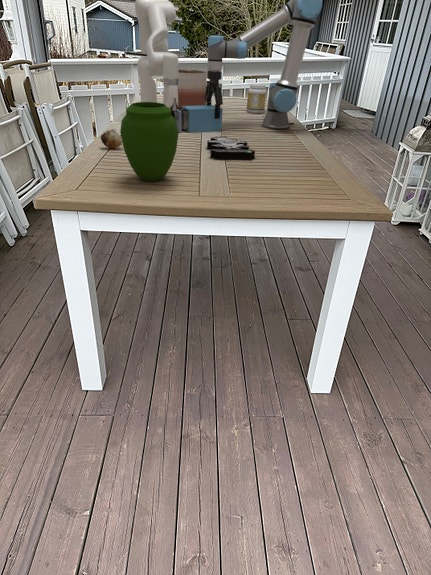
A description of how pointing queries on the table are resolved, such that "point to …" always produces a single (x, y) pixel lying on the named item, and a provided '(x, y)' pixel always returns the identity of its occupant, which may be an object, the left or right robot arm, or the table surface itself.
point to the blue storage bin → (203, 118)
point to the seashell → (111, 139)
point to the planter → (191, 88)
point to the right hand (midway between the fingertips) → (212, 116)
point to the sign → (229, 149)
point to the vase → (149, 139)
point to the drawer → (182, 119)
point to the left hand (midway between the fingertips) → (171, 121)
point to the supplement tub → (256, 98)
